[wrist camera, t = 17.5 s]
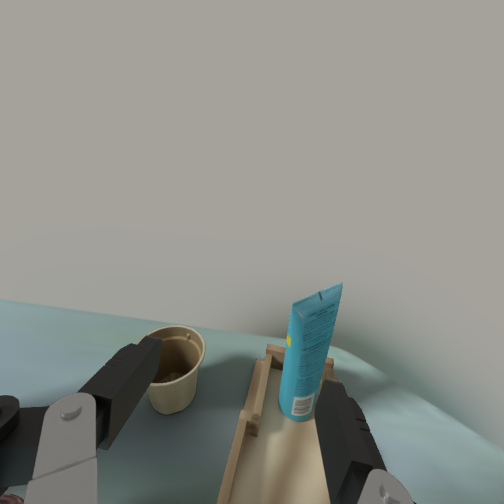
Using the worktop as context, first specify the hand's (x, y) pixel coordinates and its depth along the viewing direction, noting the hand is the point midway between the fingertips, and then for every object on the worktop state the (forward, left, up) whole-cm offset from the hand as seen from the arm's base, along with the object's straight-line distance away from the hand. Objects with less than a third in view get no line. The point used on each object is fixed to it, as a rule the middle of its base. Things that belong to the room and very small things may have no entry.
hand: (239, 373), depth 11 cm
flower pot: (-12, +12, -24) cm, 30 cm away
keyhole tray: (+5, +9, -24) cm, 26 cm away
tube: (+5, +14, -23) cm, 28 cm away
